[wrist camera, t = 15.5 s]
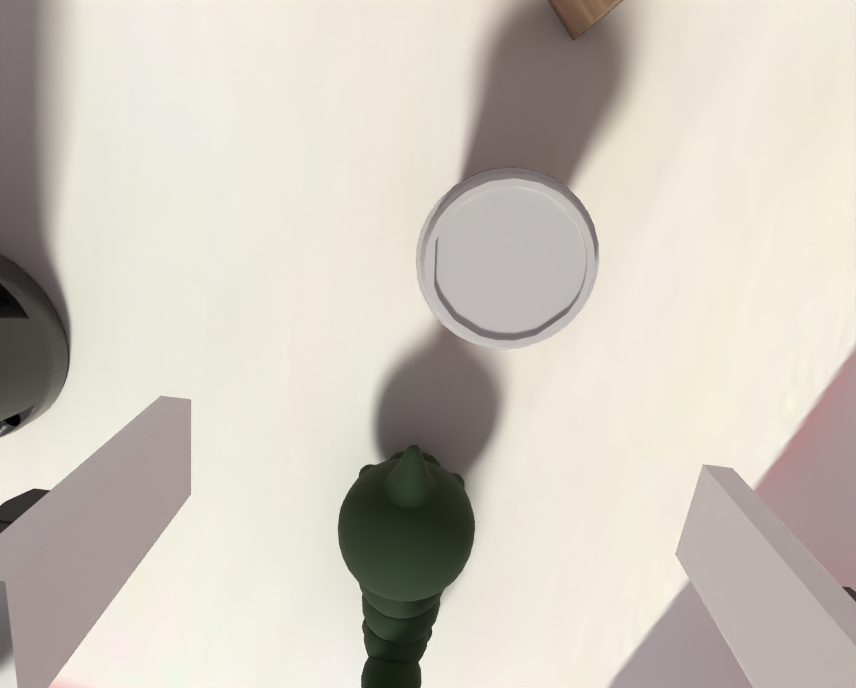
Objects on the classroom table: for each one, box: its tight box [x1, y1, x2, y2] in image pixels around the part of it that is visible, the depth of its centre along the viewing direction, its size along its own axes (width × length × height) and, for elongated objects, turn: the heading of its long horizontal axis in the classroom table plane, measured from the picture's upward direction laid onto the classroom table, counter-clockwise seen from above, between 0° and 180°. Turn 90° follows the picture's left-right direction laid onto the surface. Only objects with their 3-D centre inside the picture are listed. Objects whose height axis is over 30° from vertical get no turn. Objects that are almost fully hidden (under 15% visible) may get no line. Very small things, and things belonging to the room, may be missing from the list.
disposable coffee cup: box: [416, 168, 599, 349], centre depth 35 cm, size 10×10×12 cm
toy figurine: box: [338, 444, 475, 688], centre depth 40 cm, size 9×19×25 cm
